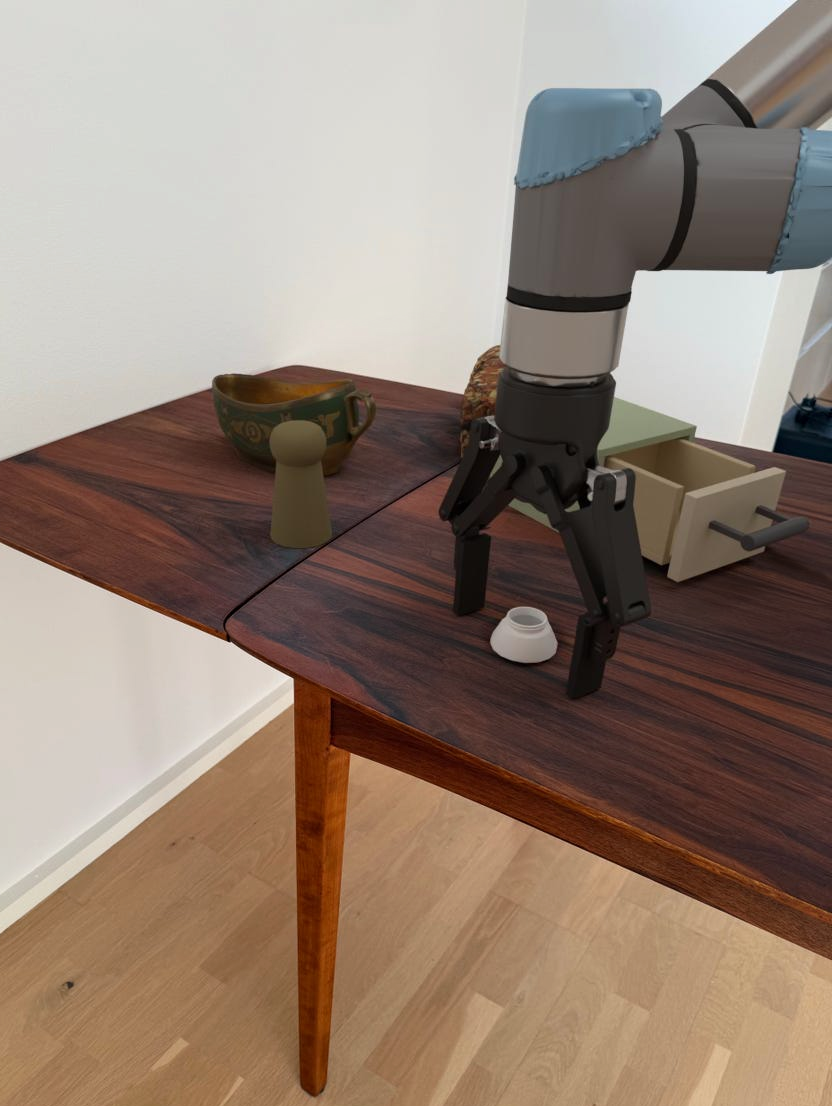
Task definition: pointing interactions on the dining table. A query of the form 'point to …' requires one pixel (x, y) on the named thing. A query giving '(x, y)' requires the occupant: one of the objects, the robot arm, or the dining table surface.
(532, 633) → the white jar
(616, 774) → the dining table surface
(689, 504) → the drawer
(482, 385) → the bread
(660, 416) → the cabinet
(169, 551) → the dining table surface
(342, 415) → the gravy boat
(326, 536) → the olive pawn
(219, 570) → the dining table surface
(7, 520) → the dining table surface
